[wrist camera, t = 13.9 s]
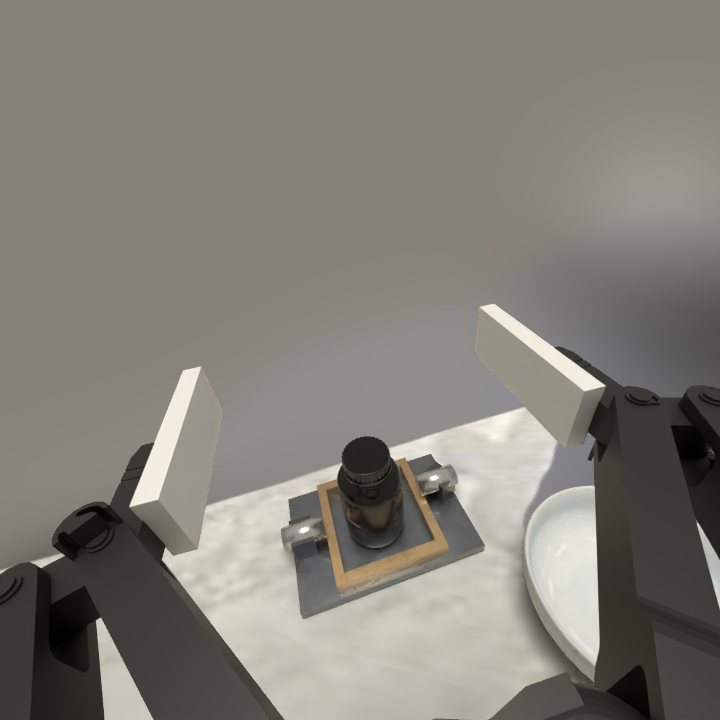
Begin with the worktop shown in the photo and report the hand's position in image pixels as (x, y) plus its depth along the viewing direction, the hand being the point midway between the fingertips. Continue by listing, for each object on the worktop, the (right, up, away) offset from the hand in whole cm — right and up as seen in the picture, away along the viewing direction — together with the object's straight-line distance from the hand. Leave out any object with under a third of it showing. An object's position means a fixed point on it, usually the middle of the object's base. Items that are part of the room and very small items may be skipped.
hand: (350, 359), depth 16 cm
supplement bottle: (+2, -19, +24) cm, 30 cm away
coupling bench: (+3, -20, +24) cm, 31 cm away
